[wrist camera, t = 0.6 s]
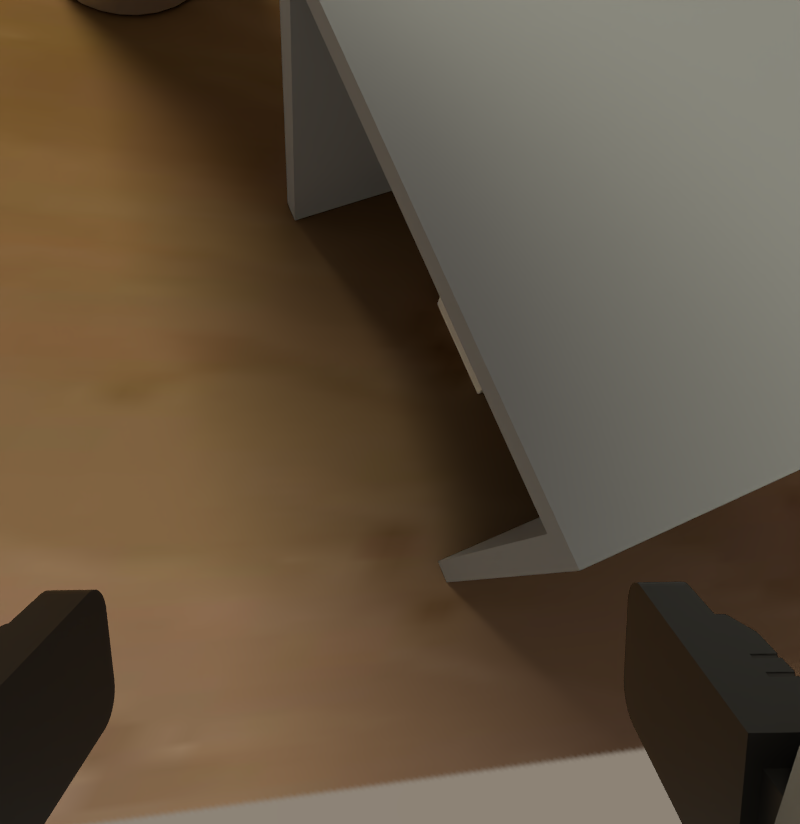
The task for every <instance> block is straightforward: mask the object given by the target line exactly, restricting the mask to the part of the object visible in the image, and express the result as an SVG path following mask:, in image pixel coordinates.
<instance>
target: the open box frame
mask: <svg viewBox="0 0 800 824" xmlns="http://www.w3.org/2000/svg"><path fill="white" fill-rule="evenodd" d="M280 23H281V48H282V73H283V98H284V123H285V148H286V173H287V198H288V205H289V208H290V210H291V212H292V215H293V217H294V219H295V220H298V219H301V218H304V217H308V216H311V215H314V214H317V213H321V212H324V211H327V210H331V209H334V208H337V207H340V206H344V205H347V204H350V203H353V202H357V201H360V200H363V199H366V198H370V197H373V196H376V195H380V194H383V193H386V192H389V191H392V192H393V194H394V196H395V198H396V201H397V203H398V205H399V207H400V209H401V212H402V214H403V216H404V218H405V220H406V223H407V225H408V227H409V229H410V231H411V234H412V236H413V238H414V240H415V243H416V245H417V247H418V249H419V251H420V254H421V256H422V258H423V260H424V262H425V265H426V267H427V269H428V271H429V273H430V276H431V278H432V280H433V282H434V285H435V287H436V289H437V291H438V293H439V296H440V298H441V300H442V302H443V304H444V307H445V309H446V311H447V313H448V316H449V318H450V320H451V322H452V324H453V327H454V329H455V331H456V333H457V335H458V338H459V340H460V342H461V344H462V346H463V349H464V351H465V353H466V355H467V358H468V360H469V362H470V364H471V366H472V369H473V371H474V373H475V375H476V377H477V380H478V382H479V384H480V386H481V388H482V391H483V393H484V395H485V397H486V400H487V402H488V404H489V406H490V408H491V411H492V413H493V415H494V417H495V419H496V422H497V424H498V426H499V428H500V431H501V433H502V435H503V437H504V439H505V442H506V444H507V446H508V448H509V450H510V453H511V455H512V457H513V459H514V461H515V464H516V466H517V468H518V470H519V473H520V475H521V477H522V479H523V481H524V484H525V486H526V488H527V490H528V492H529V495H530V497H531V499H532V501H533V503H534V506H535V508H536V510H537V512H538V515H539V518H536V519H534V520H532V521H530V522H527V523H525V524H523V525H520V526H518V527H516V528H513V529H511V530H509V531H507V532H504V533H502V534H500V535H497V536H495V537H493V538H490V539H488V540H486V541H484V542H481V543H479V544H477V545H474V546H472V547H470V548H467V549H465V550H463V551H460V552H458V553H456V554H454V555H451V556H449V557H447V558H444V559H442V560H440V561H438V563H439V565H440V568H441V570H442V572H443V575H444V577H445V580H446V582H456V581H467V580H479V579H490V578H502V577H513V576H525V575H536V574H548V573H559V572H571V571H580V570H582V569H584V568H587V567H589V566H591V565H593V564H595V563H598V562H600V561H602V560H604V559H606V558H608V557H611V556H613V555H615V554H617V553H619V552H621V551H624V550H626V549H628V548H630V547H632V546H635V545H637V544H639V543H641V542H643V541H645V540H648V539H650V538H652V537H654V536H656V535H659V534H661V533H663V532H665V531H667V530H669V529H672V528H674V527H676V526H678V525H680V524H682V523H685V522H687V521H689V520H691V519H693V518H696V517H698V516H700V515H702V514H704V513H706V512H709V511H711V510H713V509H715V508H717V507H720V506H722V505H724V504H726V503H728V502H730V501H733V500H735V499H737V498H739V497H741V496H743V495H746V494H748V493H750V492H752V491H754V490H757V489H759V488H761V487H763V486H765V485H767V484H770V483H772V482H774V481H776V480H778V479H780V478H783V477H785V476H787V475H789V474H791V473H794V472H796V471H798V470H800V0H280Z"/></svg>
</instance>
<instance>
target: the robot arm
mask: <svg viewBox="0 0 800 824" xmlns="http://www.w3.org/2000/svg"><path fill="white" fill-rule="evenodd" d="M77 1H79V2H80V3H82V4H85V5H87V6H90V7H92V8H95V9H97V10H100V11H105V12H110V13H115V14H123V15H142V14H149V13H157V12H160V11H163V10H166V9H169V8H172V7H175V6H177V5H179V4H181V3H182V2H184V1H186V0H77ZM624 690H625V698H626V704H627V708H628V712H629V716H630V719H631V721H632V723H633V726H634V728H635V730H636V732H637V734H638V736H639V738H640V740H641V742H642V744H643V746H644V748H645V750H646V752H647V754H648V756H649V758H650V760H651V761H652V764H653V766H654V768H655V770H656V772H657V774H658V776H659V778H660V780H661V782H662V784H663V786H664V788H665V790H666V792H667V794H668V796H669V798H670V800H671V802H672V804H673V806H674V808H675V810H676V812H677V814H678V816H679V818H680V820H681V822H682V824H800V677H799V676H795V672H794V670H793V669H792V668H791V667H790V666H789V665H788V664H787V663H786V662H785V661H784V660H783V659H782V658H778V656H777V653H776V652H775V651H774V650H773V648H772V647H771V646H770V645H769V644H768V643H767V642H766V641H765V640H764V639H763V638H762V637H761V636H760V635H759V634H758V633H757V632H756V631H754V630H752V629H751V628H749V627H747V626H745V625H743V624H742V623H740V622H738V621H736V620H735V619H733V618H731V617H729V616H728V615H726V614H714V613H713V612H712V611H711V610H710V609H709V608H708V606H707V605H706V604H705V603H704V602H703V601H702V600H701V599H700V597H699V596H698V595H697V594H696V593H695V592H694V591H693V590H692V588H691V587H690V586H689V585H688V584H687V583H685V582H638V583H633V584H632V585H631V587H630V590H629V595H628V608H627V627H626V647H625V666H624ZM114 693H115V684H114V674H113V665H112V656H111V647H110V638H109V630H108V621H107V612H106V605H105V601H104V598H103V596H102V594H101V593H100V592H99V591H98V590H52V591H45V592H43V593H42V594H40V595H39V596H38V597H37V598H36V599H35V600H34V601H33V602H32V603H30V604H29V605H28V606H27V607H26V608H25V609H24V610H23V611H22V612H21V613H20V614H18V615H17V616H16V617H15V618H14V619H13V620H12V621H11V622H10V623H9V624H4V625H3V626H1V627H0V824H45V822H46V820H47V819H48V817H49V816H50V814H51V813H52V811H53V809H54V808H55V806H56V805H57V803H58V802H59V800H60V799H61V797H62V795H63V794H64V792H65V791H66V789H67V788H68V786H69V784H70V783H71V781H72V780H73V778H74V777H75V775H76V773H77V772H78V770H79V769H80V767H81V766H82V764H83V763H84V761H85V759H86V758H87V756H88V755H89V753H90V752H91V750H92V748H93V747H94V745H95V744H96V742H97V741H98V739H99V737H100V736H101V734H102V733H103V731H104V730H105V728H106V726H107V724H108V722H109V719H110V716H111V712H112V708H113V703H114Z"/></svg>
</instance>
